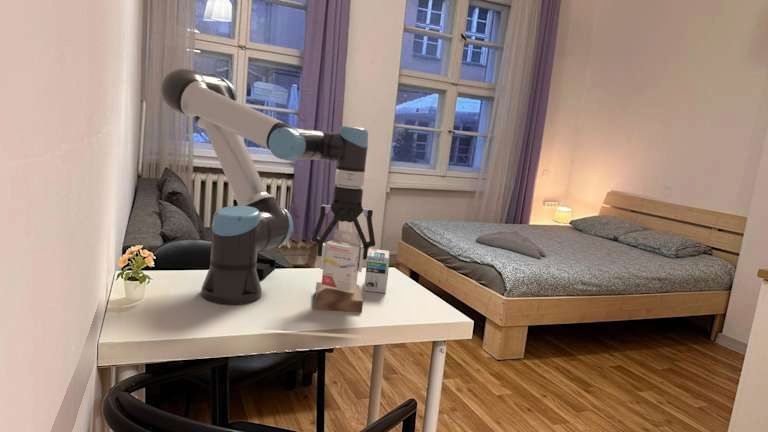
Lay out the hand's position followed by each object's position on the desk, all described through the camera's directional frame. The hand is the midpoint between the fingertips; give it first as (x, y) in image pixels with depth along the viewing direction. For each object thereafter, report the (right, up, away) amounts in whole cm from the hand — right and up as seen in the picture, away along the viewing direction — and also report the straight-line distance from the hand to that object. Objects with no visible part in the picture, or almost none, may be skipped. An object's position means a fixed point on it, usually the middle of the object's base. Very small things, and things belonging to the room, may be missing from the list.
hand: (340, 269), depth 140 cm
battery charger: (-28, -4, +19) cm, 34 cm away
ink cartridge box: (-1, -5, +1) cm, 5 cm away
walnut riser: (-1, -9, +1) cm, 9 cm away
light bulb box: (+9, -8, +19) cm, 22 cm away
